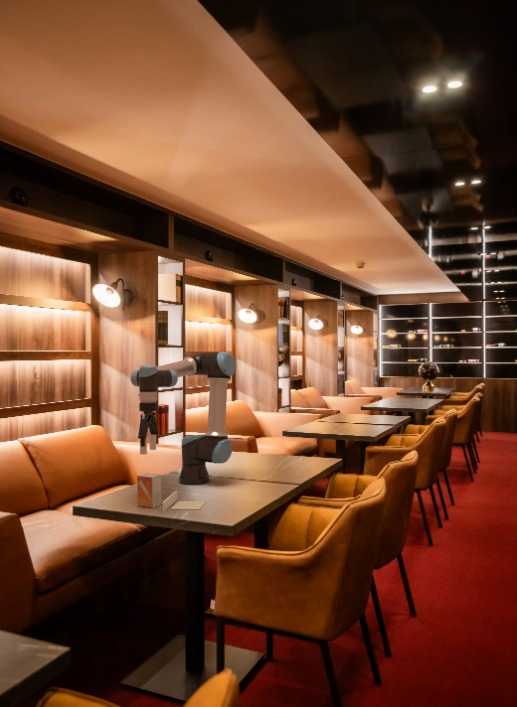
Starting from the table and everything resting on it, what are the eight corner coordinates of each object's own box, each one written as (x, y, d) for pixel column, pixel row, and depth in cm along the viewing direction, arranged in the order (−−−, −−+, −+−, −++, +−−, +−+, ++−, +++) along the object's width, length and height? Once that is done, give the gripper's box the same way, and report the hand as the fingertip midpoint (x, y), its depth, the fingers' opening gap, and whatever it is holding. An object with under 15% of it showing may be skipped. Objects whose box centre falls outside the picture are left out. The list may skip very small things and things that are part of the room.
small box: (137, 506, 250) (136, 475, 250) (147, 502, 255) (146, 472, 255) (152, 508, 246) (151, 477, 246) (162, 504, 251) (161, 474, 251)
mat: (178, 502, 255) (178, 501, 255) (206, 502, 253) (206, 501, 253) (171, 509, 243) (171, 508, 243) (199, 509, 241) (199, 508, 241)
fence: (175, 499, 259) (175, 490, 259) (177, 499, 259) (177, 490, 259) (162, 512, 239) (162, 502, 239) (164, 512, 239) (164, 502, 239)
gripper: (148, 400, 264) (148, 447, 263) (130, 403, 239) (130, 456, 238) (164, 400, 263) (164, 448, 262) (148, 403, 238) (148, 456, 238)
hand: (148, 452), depth 250 cm, fingers open, 13 cm apart
